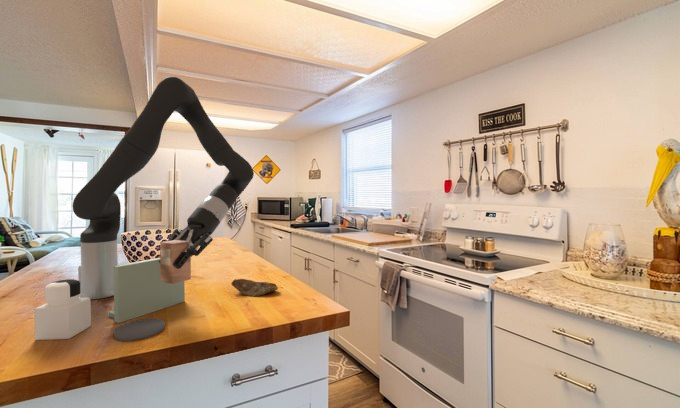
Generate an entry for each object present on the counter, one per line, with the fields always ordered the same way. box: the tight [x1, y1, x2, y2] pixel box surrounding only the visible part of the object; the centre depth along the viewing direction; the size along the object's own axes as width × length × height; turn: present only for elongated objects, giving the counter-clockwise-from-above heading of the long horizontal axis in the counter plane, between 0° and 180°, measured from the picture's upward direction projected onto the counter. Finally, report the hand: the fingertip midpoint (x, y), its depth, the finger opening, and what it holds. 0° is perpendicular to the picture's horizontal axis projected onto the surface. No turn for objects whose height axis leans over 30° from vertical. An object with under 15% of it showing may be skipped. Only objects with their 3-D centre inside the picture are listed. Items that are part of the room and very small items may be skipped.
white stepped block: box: [33, 278, 92, 341], centre depth 73 cm, size 7×7×12 cm
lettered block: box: [159, 240, 192, 284], centre depth 82 cm, size 5×5×10 cm
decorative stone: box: [230, 278, 279, 298], centre depth 104 cm, size 10×4×15 cm
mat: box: [113, 317, 166, 342], centre depth 74 cm, size 10×10×1 cm
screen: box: [107, 257, 186, 324], centre depth 88 cm, size 18×7×14 cm, turn 152°
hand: (168, 265), depth 80 cm, fingers closed on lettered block, 5 cm apart
